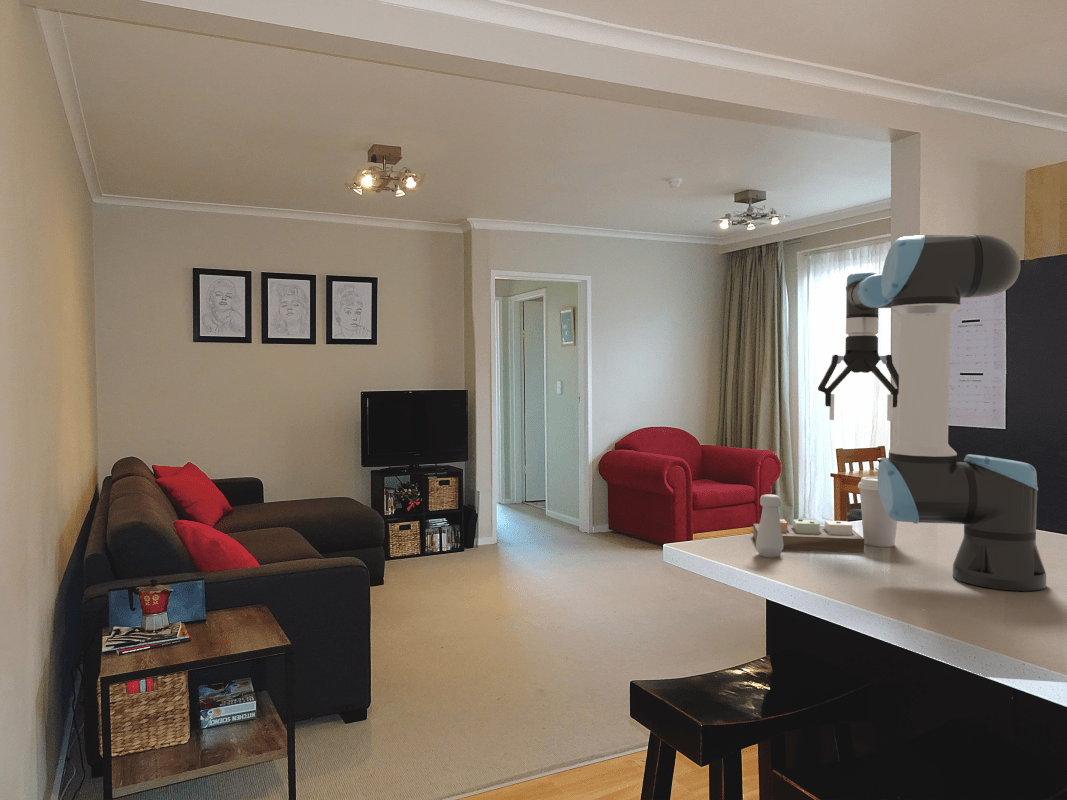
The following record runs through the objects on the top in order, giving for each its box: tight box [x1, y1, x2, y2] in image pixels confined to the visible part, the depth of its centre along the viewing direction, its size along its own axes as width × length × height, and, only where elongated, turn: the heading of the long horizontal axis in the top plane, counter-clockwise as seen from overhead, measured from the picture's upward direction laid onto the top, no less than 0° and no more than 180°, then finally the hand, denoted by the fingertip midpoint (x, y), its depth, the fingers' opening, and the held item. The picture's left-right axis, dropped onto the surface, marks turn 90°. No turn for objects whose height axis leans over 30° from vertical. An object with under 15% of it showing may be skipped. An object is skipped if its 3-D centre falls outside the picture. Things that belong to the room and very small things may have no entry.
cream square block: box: [824, 520, 853, 535], centre depth 179 cm, size 5×5×3 cm
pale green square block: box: [792, 519, 821, 534], centre depth 180 cm, size 5×5×3 cm
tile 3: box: [780, 518, 788, 533], centre depth 181 cm, size 5×5×3 cm
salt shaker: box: [755, 493, 784, 559], centre depth 168 cm, size 6×6×13 cm
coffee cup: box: [857, 476, 898, 548], centre depth 180 cm, size 10×10×15 cm
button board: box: [752, 523, 865, 553], centre depth 180 cm, size 14×22×3 cm, turn 80°
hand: (860, 420), depth 197 cm, fingers open, 13 cm apart
